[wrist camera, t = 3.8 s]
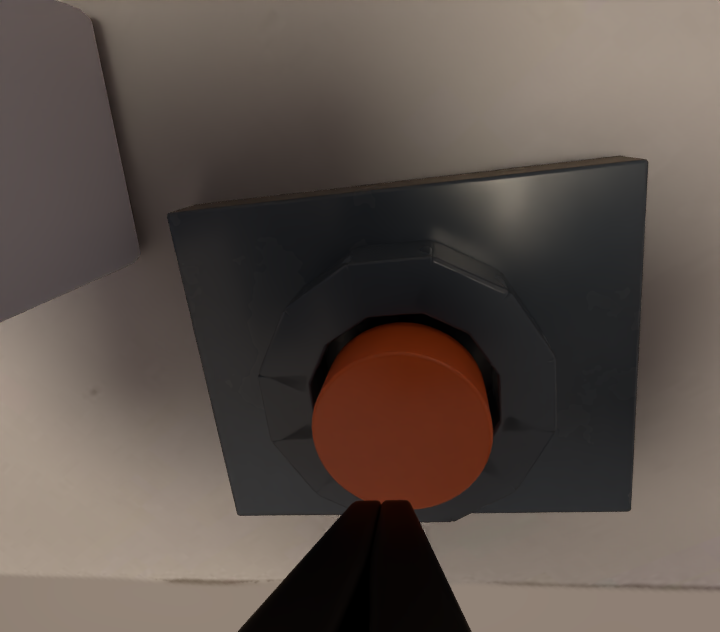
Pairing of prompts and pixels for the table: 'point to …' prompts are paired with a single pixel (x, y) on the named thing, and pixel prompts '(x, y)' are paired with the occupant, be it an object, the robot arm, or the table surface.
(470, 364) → the button
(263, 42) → the table surface
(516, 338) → the box
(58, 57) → the soap bottle
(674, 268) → the table surface
